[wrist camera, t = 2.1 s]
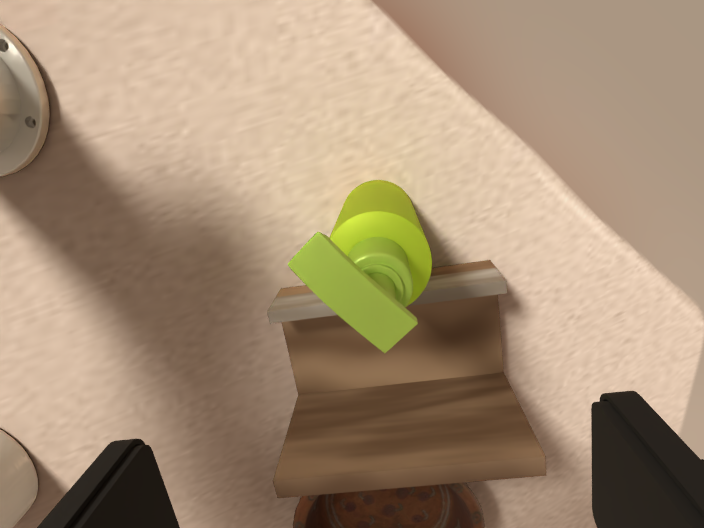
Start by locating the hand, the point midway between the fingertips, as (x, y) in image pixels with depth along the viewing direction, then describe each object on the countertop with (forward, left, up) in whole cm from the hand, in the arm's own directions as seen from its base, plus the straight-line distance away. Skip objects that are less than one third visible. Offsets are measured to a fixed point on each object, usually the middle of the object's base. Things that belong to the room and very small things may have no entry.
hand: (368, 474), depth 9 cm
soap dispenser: (0, 0, -29) cm, 29 cm away
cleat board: (+11, 0, -28) cm, 30 cm away
